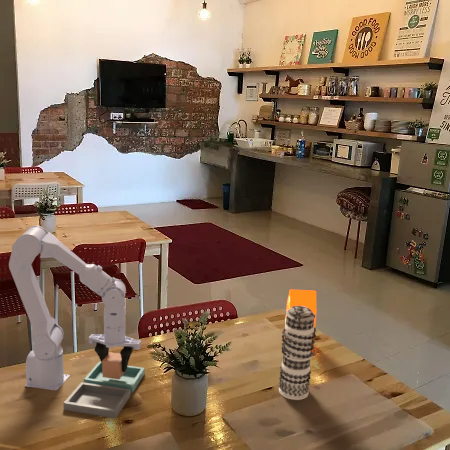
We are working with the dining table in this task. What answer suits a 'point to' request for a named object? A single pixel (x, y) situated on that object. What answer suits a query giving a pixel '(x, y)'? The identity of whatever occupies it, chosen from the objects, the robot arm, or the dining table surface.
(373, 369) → the dining table surface
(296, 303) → the orange juice
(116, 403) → the grey bin
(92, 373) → the teal bin
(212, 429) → the dining table surface
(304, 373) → the decorative candle
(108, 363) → the terracotta block
